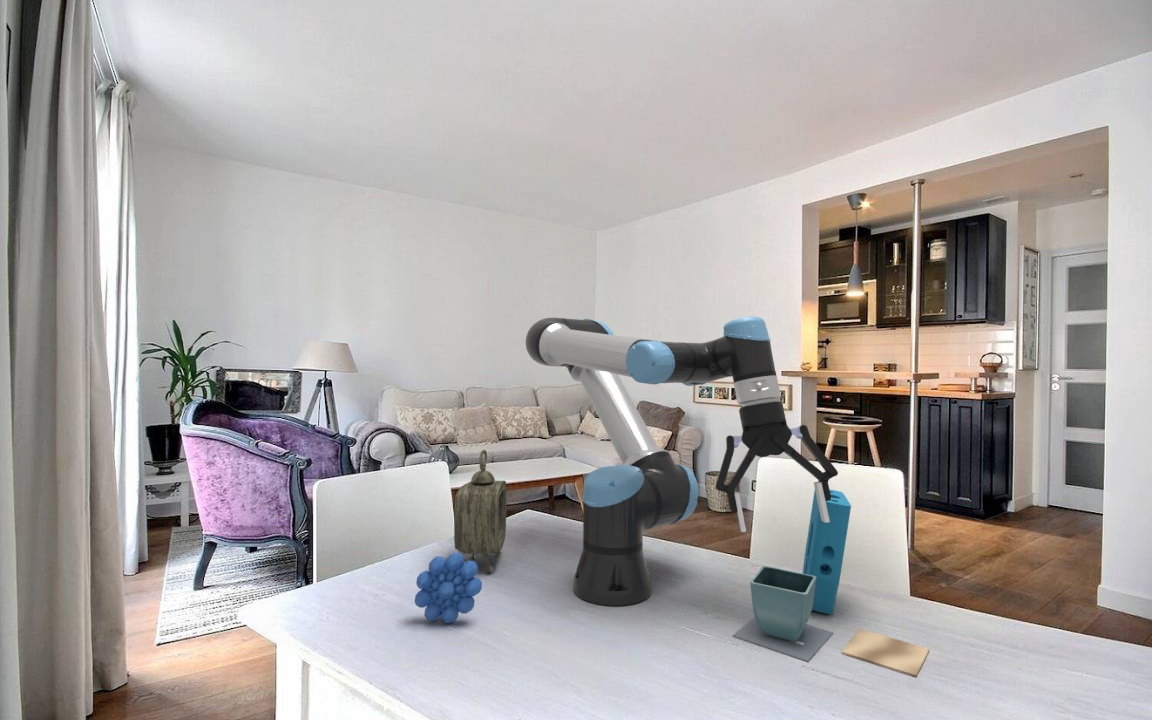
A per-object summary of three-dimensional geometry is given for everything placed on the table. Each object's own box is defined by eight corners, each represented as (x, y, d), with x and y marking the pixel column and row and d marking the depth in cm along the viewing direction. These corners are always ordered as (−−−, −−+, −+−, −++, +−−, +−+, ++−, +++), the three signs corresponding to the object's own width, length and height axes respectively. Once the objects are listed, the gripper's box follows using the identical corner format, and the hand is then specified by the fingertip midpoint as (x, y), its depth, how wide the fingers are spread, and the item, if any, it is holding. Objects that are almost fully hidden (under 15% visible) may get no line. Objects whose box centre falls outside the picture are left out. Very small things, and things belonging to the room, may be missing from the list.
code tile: (732, 636, 93) (732, 634, 93) (762, 612, 102) (762, 610, 102) (808, 662, 85) (808, 660, 85) (833, 633, 94) (833, 631, 94)
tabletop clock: (496, 577, 117) (497, 455, 118) (452, 576, 118) (453, 455, 118) (505, 553, 132) (506, 445, 132) (467, 553, 132) (467, 445, 132)
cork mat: (841, 653, 87) (841, 651, 87) (859, 630, 95) (859, 628, 95) (916, 677, 81) (916, 675, 81) (929, 650, 89) (929, 648, 89)
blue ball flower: (487, 613, 101) (488, 545, 101) (478, 631, 94) (478, 558, 94) (423, 610, 102) (424, 543, 102) (409, 628, 95) (410, 555, 95)
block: (834, 619, 99) (851, 506, 98) (803, 611, 100) (820, 500, 100) (826, 593, 110) (842, 491, 110) (799, 586, 112) (814, 486, 111)
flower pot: (806, 652, 87) (807, 593, 87) (748, 637, 92) (749, 581, 92) (816, 629, 95) (817, 575, 95) (762, 616, 99) (762, 565, 99)
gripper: (689, 412, 100) (710, 537, 96) (838, 390, 95) (867, 520, 92) (689, 415, 107) (709, 531, 103) (828, 394, 103) (855, 514, 99)
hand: (784, 526), depth 97 cm, fingers open, 13 cm apart
